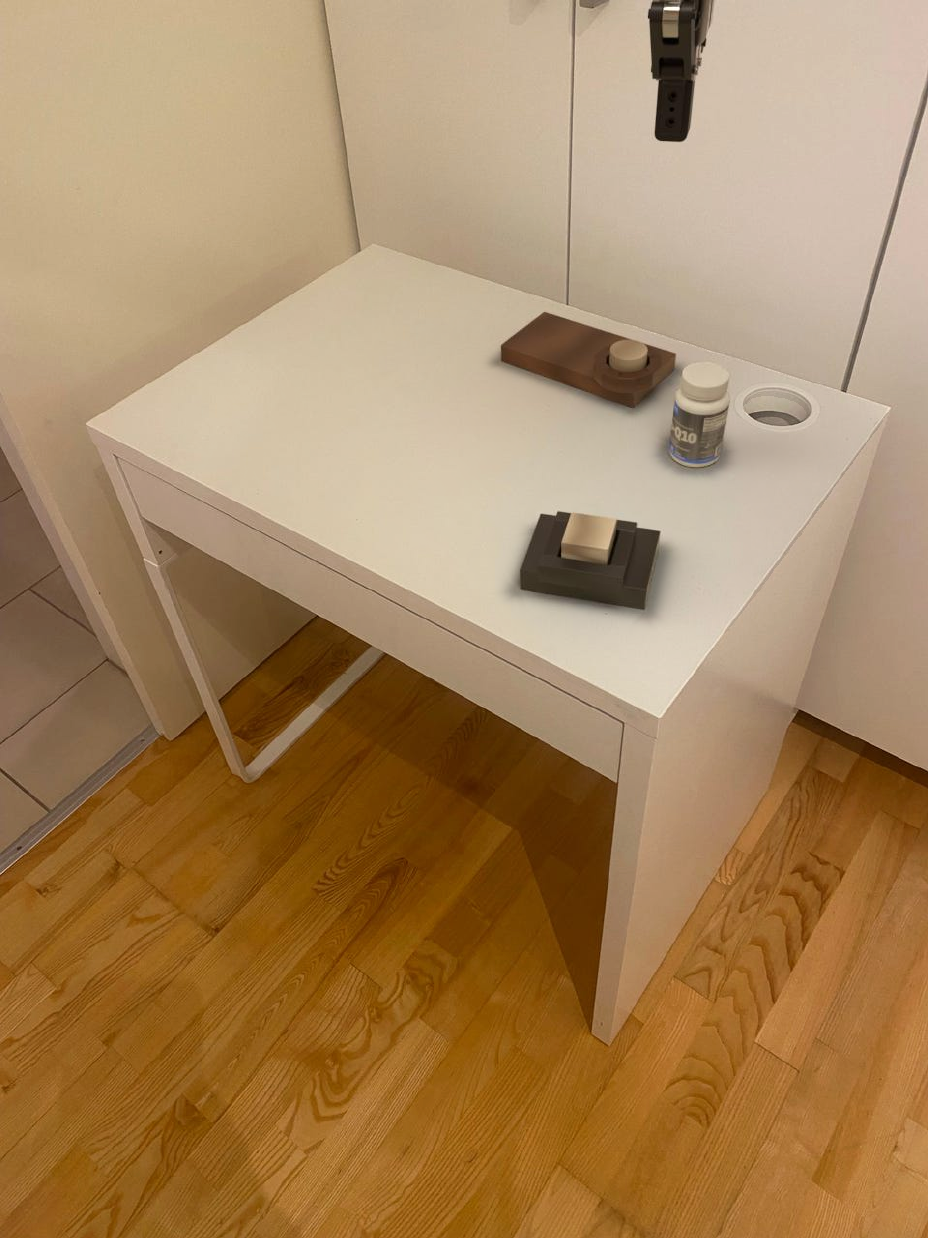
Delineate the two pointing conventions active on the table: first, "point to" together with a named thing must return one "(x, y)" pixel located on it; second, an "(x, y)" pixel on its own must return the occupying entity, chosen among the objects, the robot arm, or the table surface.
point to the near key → (588, 538)
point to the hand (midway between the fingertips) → (671, 136)
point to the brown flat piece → (583, 359)
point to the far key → (628, 356)
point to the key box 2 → (591, 565)
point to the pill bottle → (699, 415)
